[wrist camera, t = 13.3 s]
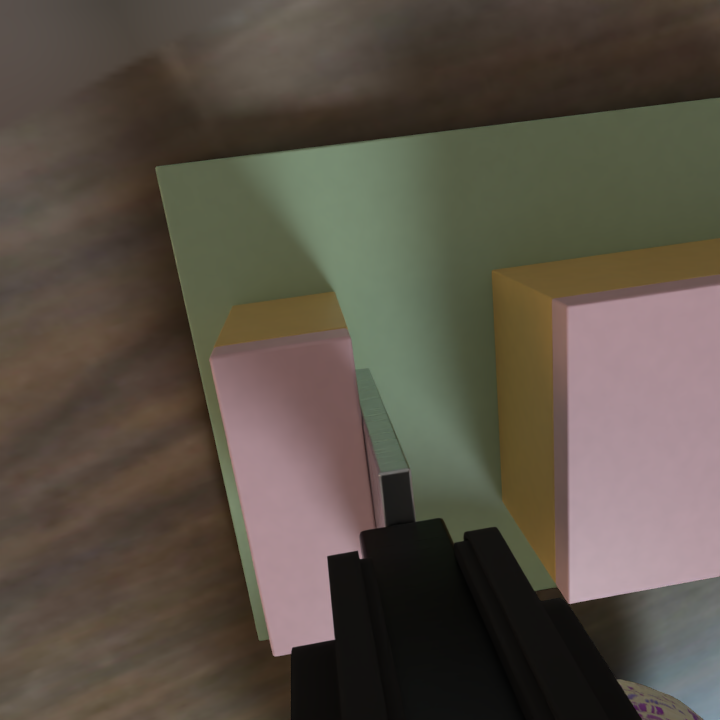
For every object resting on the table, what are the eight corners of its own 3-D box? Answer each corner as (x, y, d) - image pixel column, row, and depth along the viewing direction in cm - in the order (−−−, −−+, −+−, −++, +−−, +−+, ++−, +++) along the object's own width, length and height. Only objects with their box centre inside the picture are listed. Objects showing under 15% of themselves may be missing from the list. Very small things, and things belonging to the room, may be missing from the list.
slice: (231, 305, 17) (207, 357, 12) (334, 290, 17) (350, 336, 12) (277, 539, 19) (272, 658, 14) (366, 524, 19) (390, 637, 15)
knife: (329, 373, 16) (421, 848, 5) (386, 364, 16) (614, 807, 5) (350, 513, 17) (460, 1148, 6) (402, 504, 17) (609, 1111, 6)
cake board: (162, 167, 16) (153, 166, 15) (823, 86, 18) (853, 81, 17) (260, 621, 21) (258, 642, 20) (768, 530, 23) (789, 545, 22)
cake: (490, 269, 17) (566, 305, 12) (804, 226, 18) (989, 244, 13) (501, 501, 20) (568, 605, 15) (776, 455, 20) (922, 539, 16)
